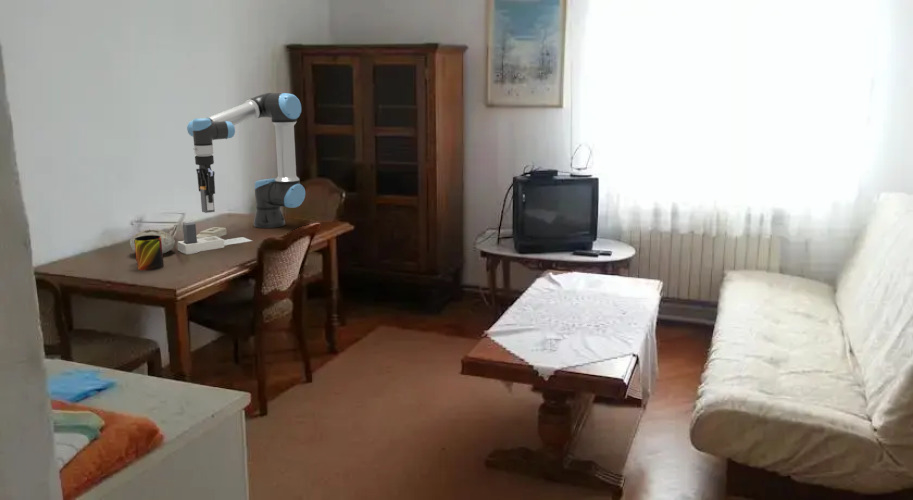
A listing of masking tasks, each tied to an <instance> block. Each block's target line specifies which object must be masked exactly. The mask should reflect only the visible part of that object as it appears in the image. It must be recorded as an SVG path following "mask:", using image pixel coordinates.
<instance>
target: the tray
mask: <svg viewBox="0 0 913 500" xmlns="http://www.w3.org/2000/svg"><path fill="white" fill-rule="evenodd" d="M249 242H253V240H251V239H249V238H247V237H243V236H242V237H235V238H228V239H224V246H228V245H235V244H242V243H249Z"/></svg>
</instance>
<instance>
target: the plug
mask: <svg viewBox="0 0 913 500" xmlns="http://www.w3.org/2000/svg"><path fill="white" fill-rule="evenodd" d="M199 193H200V203H201V212H202V213H205V214H207V213H215V208H214V210H207V202H206V195H205V194H207V192H206V186H200V192H199ZM213 205H214V206H215V197H214V195H213Z"/></svg>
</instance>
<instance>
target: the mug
mask: <svg viewBox="0 0 913 500" xmlns="http://www.w3.org/2000/svg"><path fill="white" fill-rule="evenodd" d="M134 242H135V251H134V252H135V260H136V265H137V270H139V271H156V270H160V269H163V268H164V265H165V263H164V253H162V243H161V236H157V235H147V236H140V237H137V238H135V240H134Z"/></svg>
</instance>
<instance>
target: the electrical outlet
mask: <svg viewBox="0 0 913 500" xmlns="http://www.w3.org/2000/svg"><path fill="white" fill-rule="evenodd" d="M227 233H228V232H227V228H226V227H219V226H218V227H217V226H215V227H210V228H207V229H203V230H201V231H200V232H199V233H198V234H197V233H196V236H197V239H199V238H205V237H212V236H216V237H219V238H222V237H224V236H226V235H227Z"/></svg>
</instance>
